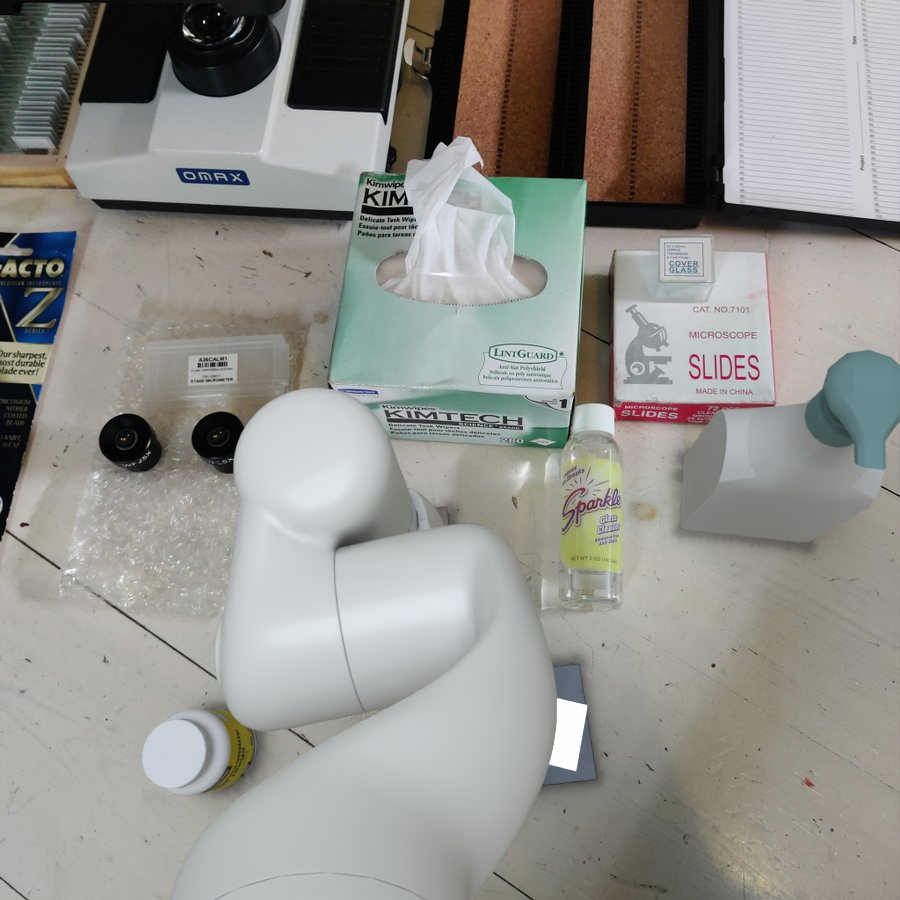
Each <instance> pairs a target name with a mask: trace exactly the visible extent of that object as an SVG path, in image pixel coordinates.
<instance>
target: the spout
mask: <svg viewBox="0 0 900 900" xmlns="http://www.w3.org/2000/svg"><path fill="white" fill-rule="evenodd" d="M588 709H589V704H583V703H579V702H575V701H570V700H566V699H562V698H558V697H557V727H556V735H555V741H554V747H553V752H552V756H551V760H550V763H549V765H550V766H554V767H558V768H562V769H566V770H570V771H574V772H577V767H578V761H579V756H580V750H581V744H582V739H583V733H584V727H585V721H586V716H588Z"/></svg>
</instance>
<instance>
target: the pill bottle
mask: <svg viewBox="0 0 900 900" xmlns="http://www.w3.org/2000/svg"><path fill="white" fill-rule="evenodd" d="M257 744H258V743H257V736H256V734H255V730H253V729H250V728H247V727H245V726H244V725H242V724H241V723H240V722H239V721H237V720H236V719H235V718H234V716H233V715H232V713H231V712H230V710H226V709H225V710H224V709H208V708H206V709H205V708H187V709H183V710H179V711H176V712H174V713H172V714H171V715H169V716H168V717H166V718H165V719H164V720H163V721H162V722H161V723H160V724H158V725H157V726H156V727H154V729H152V731H151V732H150V733H149V734H148V736H147V737H146V739H145V741H144V744H143V746H142V751H141V764H142V769H143V771H144V773H145V775H146V777H147V778H148V779H149V780H150V781H151V782H152V783H153V784H154V785H156V786H158V787H160V788H162V789H163V791H166V792H167V793H169V794H172V795H174V796H178V797H192V796H198V795H201V794H205V793H210V792H214V791H218V790H224V789H226V788H229V787H231V786H234V785H235V784H237V783H239V782H240V781H241V780H242V779H243V778H244V777H245V776H246V775H247V774H248V772H249V771H250V769H252V767H253V765H254V762H255V759H256V755H257V747H258V746H257Z"/></svg>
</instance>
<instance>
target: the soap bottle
mask: <svg viewBox="0 0 900 900" xmlns="http://www.w3.org/2000/svg"><path fill="white" fill-rule="evenodd" d="M899 423H900V364H899V363H898V362H897V361H896V360H895V359H894V358H893V357H891V356H889V355H886V354H883V353H880V352H878V351H873V350H871V349H865V350H858V351H850V352H847V353H845V354H844V355H843V356H841V357H840V358H839V359H837V360H836V361H835V362H834V363H832V364H831V365H830V366H829V367H828V368H827V372H826V375H825V378H824V381H823V385H822V389H820V390H819V391H818V392H817V393H816V394H815V395H814V396H813V397H812V398H810V399H809V400H807V401H806V402H802V403H795V404H786V405H773V406H759V407H744V408H725V409H719V410H716V411H715V413H714V414H713V416H712V417H711V419H710V420H709V421H708V423H707V424H706V425H705V427H704V428H703V430H702V431H701V433H700V434H699V435H698V437H697V438H696V439H695V441H694V442H693V444H692V445H691V447H690V448H689V449H688V451H687V452H686V453H685V455H684V456H683V460H682V461H683V463H682V484H681V505H680V525H679V527H680V529H682V530H685V531H696V532H703V533H712V534H719V535H729V536H730V535H731V536H738V537H748V538H756V539H765V540H774V541H782V542H790V543H799V544H806V543H810V542H811V541H813V540H815V539H817V538H819V537H820V536H822V535H824V534H826V533H828V532H829V531H831V530H832V529H834V528H836V527H838V526H840V525H842V524H843V523H846V522H847V521H848V520H850V519H853V518H854V517H856V516H858V515H860V514H861V513H864V511H866V510H868V509H869V508H870V507H871V505H872V504H873V503H874V502H875V501H876V498H877V497H878V494H879V492H880V489H881V487H882V484H883V480H884V477H885V472H886V469H887V448H886V441H887V440H888V438H889V437H890V435H891V434H892V433H893V431H894V429H895V428H896V427H897V426H898V425H899Z"/></svg>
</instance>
